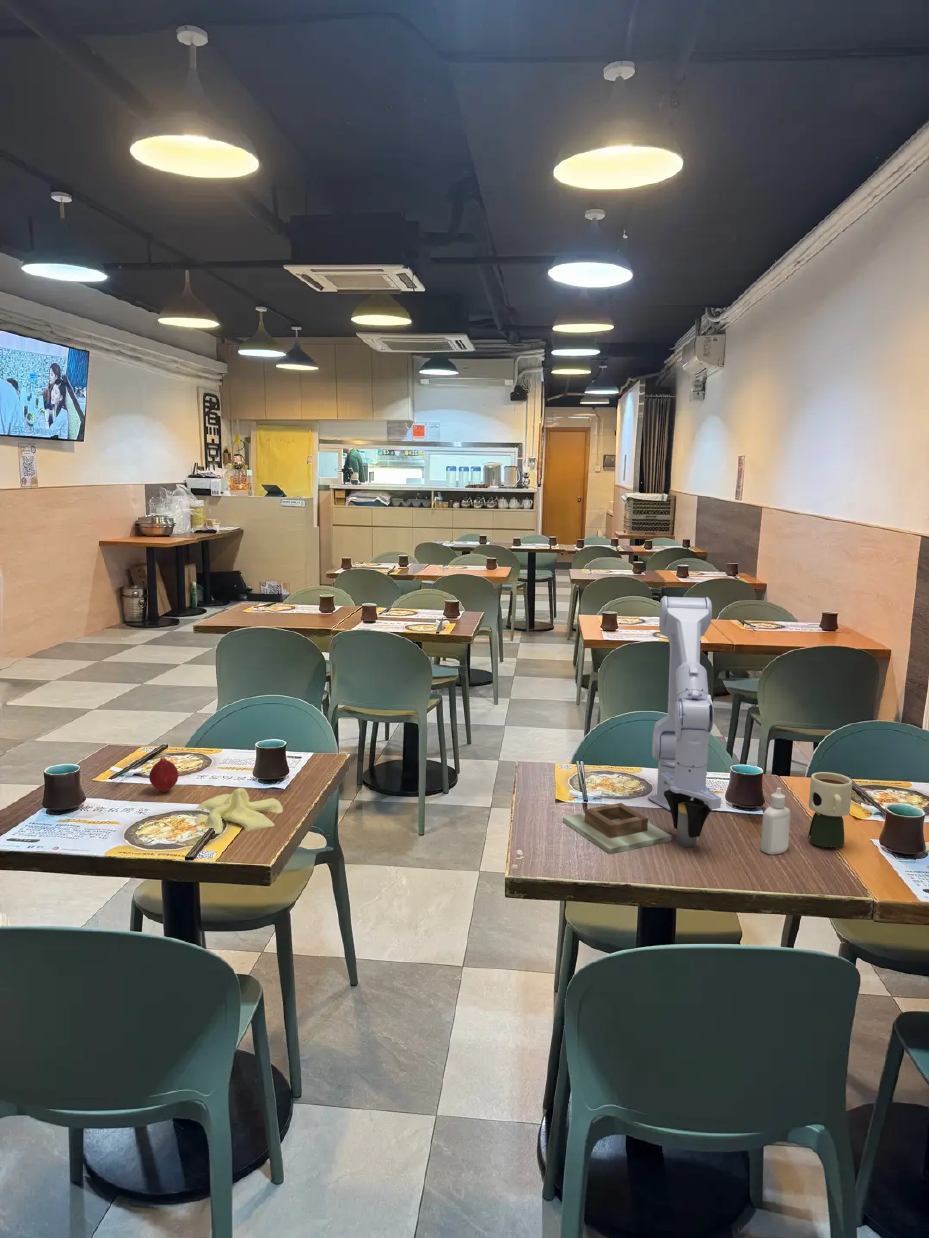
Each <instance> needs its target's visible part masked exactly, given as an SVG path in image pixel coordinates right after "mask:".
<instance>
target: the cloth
mask: <svg viewBox="0 0 929 1238" xmlns="http://www.w3.org/2000/svg"><path fill="white" fill-rule="evenodd" d="M283 808H284V807H283V805H282V804H281V802H280V801H279V799H276V798H275V797H272V798H266V799H262V800H256V801H250V796H249V794H248V792H247V789H245V788H243V787H239V788H235V789H234V790H233V791H232V793H231V794H230V793H223V794H220V795H217V796H214V797H212V798H209V799H207V800H204V801H202V802H201V803H200V804H199V805H198V806H197V807H196V809H195V810H197V809H207V810H206V811H208V810H209V814H208V815H206V814H198V816H197V818H196V819H195V820H194V823H195V824H196V825H199V824H201V823H203V822H205V821H206V820H207V821H206V822H205V826H206V830H207V829H209V828H214V831H215V834H214V835H217V834H222V832H223V830H224V825H223V821H222V818H221V817H223V819H224V820H225V821H224V822H230V823H234V824H235V823H236V824H238V825H241V826H242V827H243V829H244V830H245V831H246V832H253V831H257V830H262V829H268V828H272V827H275V823H274V822H273V821H272V820H271V819H269V818H268V817H267V816H266V815H265V814H263V813H270V812H272V813H274V814H281V813H283V812H284V810H283Z"/></svg>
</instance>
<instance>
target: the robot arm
mask: <svg viewBox="0 0 929 1238" xmlns="http://www.w3.org/2000/svg"><path fill="white" fill-rule="evenodd" d="M659 601H660V602H659V612H658V613H659V620H658V621H659V624H658V625H659V626H658V629H659V634H660V635H662V636H664V637H666V638H667V640H668V643H669V665H668V666H669V668H668V669H669V670H668V694H667V695H668V696H667V699H668V700H667V714H666V715H665V716H663V717H662V718H661V719H659V720H657V721H656V722H655V724H654V725H653V734H652V739H651V740H652V741H651V747H652V748H651V749H652V750H651V751H652V754H651V755H652V757H653V759H654V760H655V761H657V762H658V764H657V765H658V767H657V784H656V786H657V787H656V794H653V795H648V796H647V799H648V800H650V801H651V802H653V803H655V804H657V805H659V806H661V807H663V808H664V809H666V810H668V811H670V813H671V818H672V822H673V823H672V824H673V828H674V829H676V830H677V824H678V804H679V803H680V802H684V805H685V807H686V811H687V815H688V833H689V837H691V838H694V837H700V836H701V834H702V830H703V828H704V824H705V822H706V820H707V818H708V817H709V815H710V814H711V811H712V810H717V809H721V806H722V805H721V803H722V797H720V796H718V795H717V794H715V793H714V792H713V790H711V789H710V788H709V787H708V786H707V771H708V769H707V768H708V756H709V755H708V754H709V741H710V739H709V738H710V737H709V736H710V732H712V730H713V726H714V723H715V722H714V720H715V710H714V705H713V704H714V703H713V701H712V695H711V694H709V686H708V672H707V669H706V668H705V666H703V665H702V664H701V663H700V662H701V661H700V660H701V637H704V636H705V634H706V633H707V631H708V629H709V628H710V626H711V624H712V623H711V622H712V616H713V614H712V613H713V604H712V601H711V599H710V598H709V597H707V596H706V597H690V596H689V597H687V596H686V597H679V596H667V595H664V596H663V595H662V598H661V599H660V600H659Z"/></svg>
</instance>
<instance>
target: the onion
mask: <svg viewBox="0 0 929 1238" xmlns="http://www.w3.org/2000/svg"><path fill="white" fill-rule="evenodd" d="M159 759H160V760H159V761H158V762H156V763H155V764H154V765H153V766H152V768H151V770H150V772H149V777H148V778H149V783H150V784H151V785H152V787H153V788H155V789H156V790H158V791H159V792H161V793H163V792H165V793H168V792H169V790H170V789H172V788H173V787H174V786H175V785H176V784H177V782H178V779H179V771H178V768H177V766H176V765H175V764H174V763H173V762H171V761H169V760H167V759H166V757H165V756H163V755H161V756H160V758H159Z"/></svg>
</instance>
